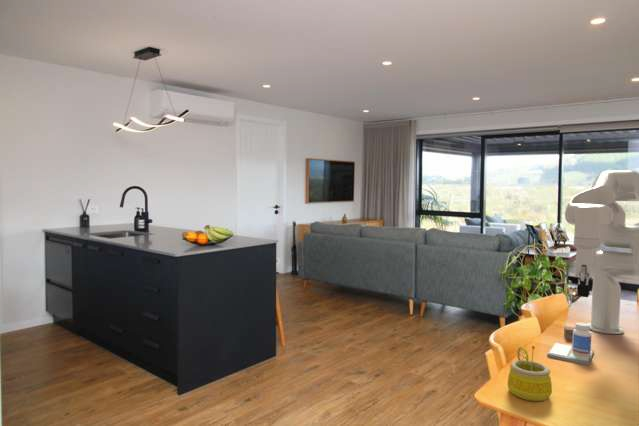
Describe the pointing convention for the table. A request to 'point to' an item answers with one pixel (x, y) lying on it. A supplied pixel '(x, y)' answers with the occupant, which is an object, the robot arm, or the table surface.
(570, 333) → the walnut block
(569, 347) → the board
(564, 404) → the table surface
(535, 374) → the yellow-green planter pot
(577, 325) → the pill bottle
